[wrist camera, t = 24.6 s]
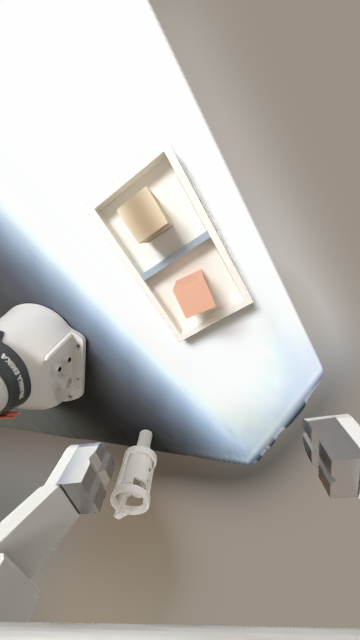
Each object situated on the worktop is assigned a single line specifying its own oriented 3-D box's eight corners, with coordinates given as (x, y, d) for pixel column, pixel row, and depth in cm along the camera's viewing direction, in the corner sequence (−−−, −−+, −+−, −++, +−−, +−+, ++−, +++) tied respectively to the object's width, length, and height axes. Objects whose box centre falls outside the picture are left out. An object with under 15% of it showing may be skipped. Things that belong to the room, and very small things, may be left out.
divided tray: (248, 296, 36) (253, 301, 33) (180, 334, 39) (179, 342, 36) (168, 147, 28) (166, 137, 26) (93, 209, 32) (84, 206, 29)
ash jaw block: (149, 242, 33) (138, 243, 26) (132, 215, 31) (116, 210, 25) (173, 225, 31) (168, 222, 25) (156, 197, 30) (146, 185, 24)
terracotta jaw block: (201, 268, 34) (203, 276, 27) (211, 293, 35) (215, 306, 28) (176, 280, 34) (172, 290, 28) (187, 303, 36) (186, 318, 29)
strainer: (125, 434, 50) (99, 510, 36) (143, 418, 48) (122, 493, 34) (148, 448, 51) (131, 527, 37) (166, 434, 49) (156, 512, 35)
